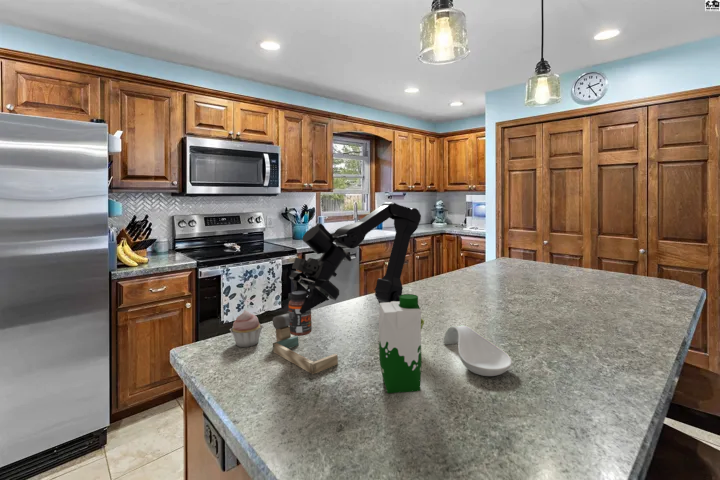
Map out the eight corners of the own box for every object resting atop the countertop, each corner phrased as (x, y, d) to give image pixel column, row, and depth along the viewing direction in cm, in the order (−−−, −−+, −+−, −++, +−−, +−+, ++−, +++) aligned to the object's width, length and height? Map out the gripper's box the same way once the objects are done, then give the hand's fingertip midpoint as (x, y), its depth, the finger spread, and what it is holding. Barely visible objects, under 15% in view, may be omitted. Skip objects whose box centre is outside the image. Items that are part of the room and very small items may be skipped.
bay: (337, 364, 93) (337, 354, 93) (312, 374, 88) (312, 364, 88) (296, 344, 107) (296, 335, 107) (273, 351, 102) (272, 343, 102)
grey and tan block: (295, 342, 108) (294, 313, 107) (280, 347, 105) (278, 317, 104) (289, 339, 111) (287, 310, 110) (273, 344, 108) (272, 314, 107)
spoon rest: (522, 379, 83) (523, 349, 83) (476, 386, 81) (476, 355, 80) (468, 341, 106) (468, 317, 106) (430, 346, 104) (430, 321, 103)
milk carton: (425, 393, 78) (424, 301, 76) (383, 396, 77) (381, 303, 75) (415, 373, 87) (414, 291, 85) (377, 376, 86) (375, 292, 84)
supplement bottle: (304, 338, 96) (302, 295, 95) (285, 335, 99) (283, 294, 98) (316, 330, 102) (314, 290, 101) (297, 328, 104) (295, 288, 103)
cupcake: (253, 335, 115) (251, 304, 114) (269, 342, 109) (267, 309, 108) (225, 343, 109) (222, 311, 108) (239, 352, 102) (237, 317, 101)
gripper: (293, 243, 107) (259, 287, 102) (327, 249, 93) (290, 300, 87) (318, 266, 113) (287, 308, 108) (354, 275, 98) (320, 324, 93)
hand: (295, 310), depth 99 cm, fingers closed on supplement bottle, 6 cm apart
